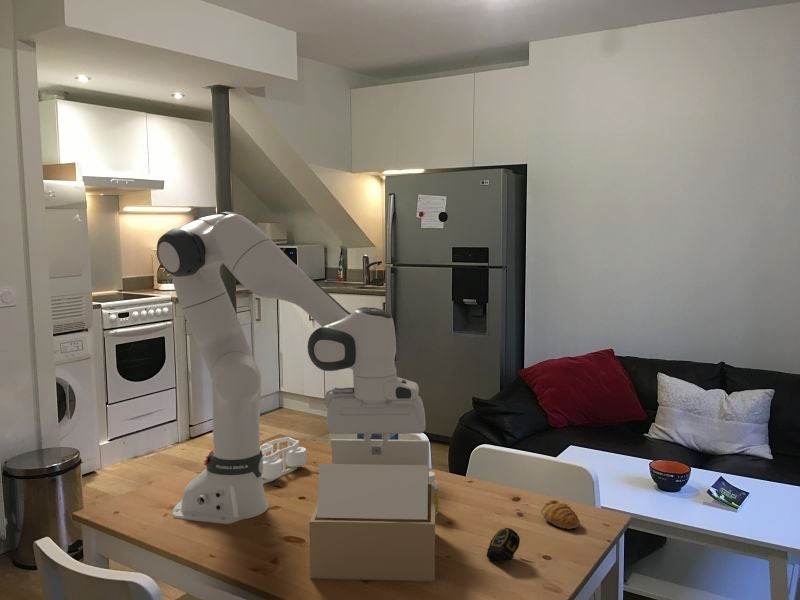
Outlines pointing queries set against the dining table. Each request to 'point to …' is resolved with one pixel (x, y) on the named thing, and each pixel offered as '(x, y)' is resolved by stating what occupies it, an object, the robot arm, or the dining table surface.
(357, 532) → the carton
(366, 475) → the near flap
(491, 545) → the tape measure
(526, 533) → the dining table surface
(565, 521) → the pastry
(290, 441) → the wheeled car silhouette
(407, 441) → the far flap
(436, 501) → the supplement bottle
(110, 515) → the dining table surface
